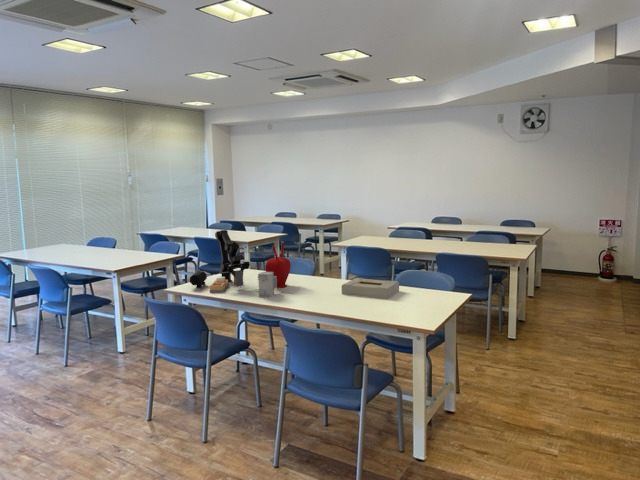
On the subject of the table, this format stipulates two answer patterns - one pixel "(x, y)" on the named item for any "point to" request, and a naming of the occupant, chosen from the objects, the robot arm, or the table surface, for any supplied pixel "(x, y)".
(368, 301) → the table surface
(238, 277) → the dark grey block
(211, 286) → the orange and grey housing
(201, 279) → the security camera
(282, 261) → the red antenna pod
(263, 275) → the circuit breaker
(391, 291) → the box
